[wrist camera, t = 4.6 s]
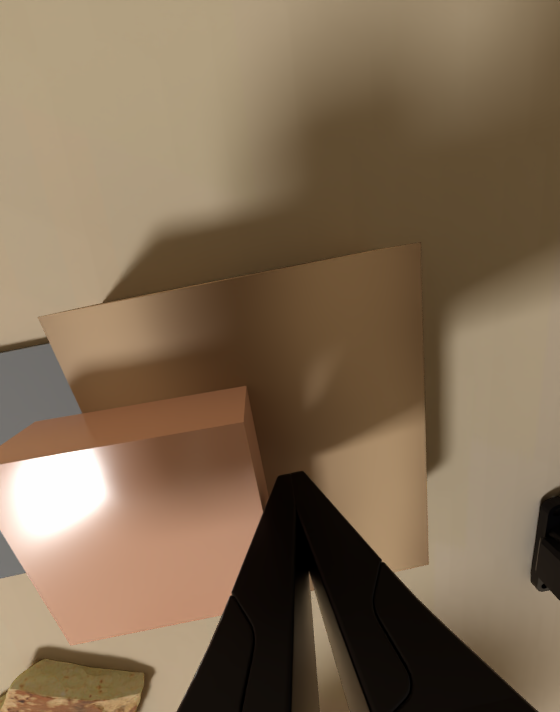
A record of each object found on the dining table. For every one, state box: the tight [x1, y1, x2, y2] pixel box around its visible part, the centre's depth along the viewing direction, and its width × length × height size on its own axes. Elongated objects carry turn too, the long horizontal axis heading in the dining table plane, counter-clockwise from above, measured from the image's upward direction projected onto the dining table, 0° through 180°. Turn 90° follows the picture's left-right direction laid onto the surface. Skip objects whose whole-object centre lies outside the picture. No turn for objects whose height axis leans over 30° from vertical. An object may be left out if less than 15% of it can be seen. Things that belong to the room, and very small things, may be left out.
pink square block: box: [0, 386, 269, 645], centre depth 8 cm, size 6×6×2 cm
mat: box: [0, 343, 82, 578], centre depth 11 cm, size 9×10×1 cm
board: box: [38, 242, 429, 591], centre depth 10 cm, size 10×12×3 cm
